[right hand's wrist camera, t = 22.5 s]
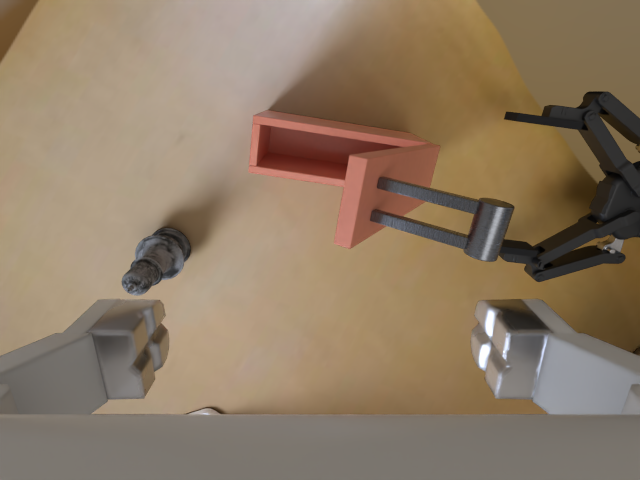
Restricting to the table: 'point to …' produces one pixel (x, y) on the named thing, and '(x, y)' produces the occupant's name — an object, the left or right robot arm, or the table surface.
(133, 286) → the salt shaker
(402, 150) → the lid
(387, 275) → the table surface
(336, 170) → the chest
